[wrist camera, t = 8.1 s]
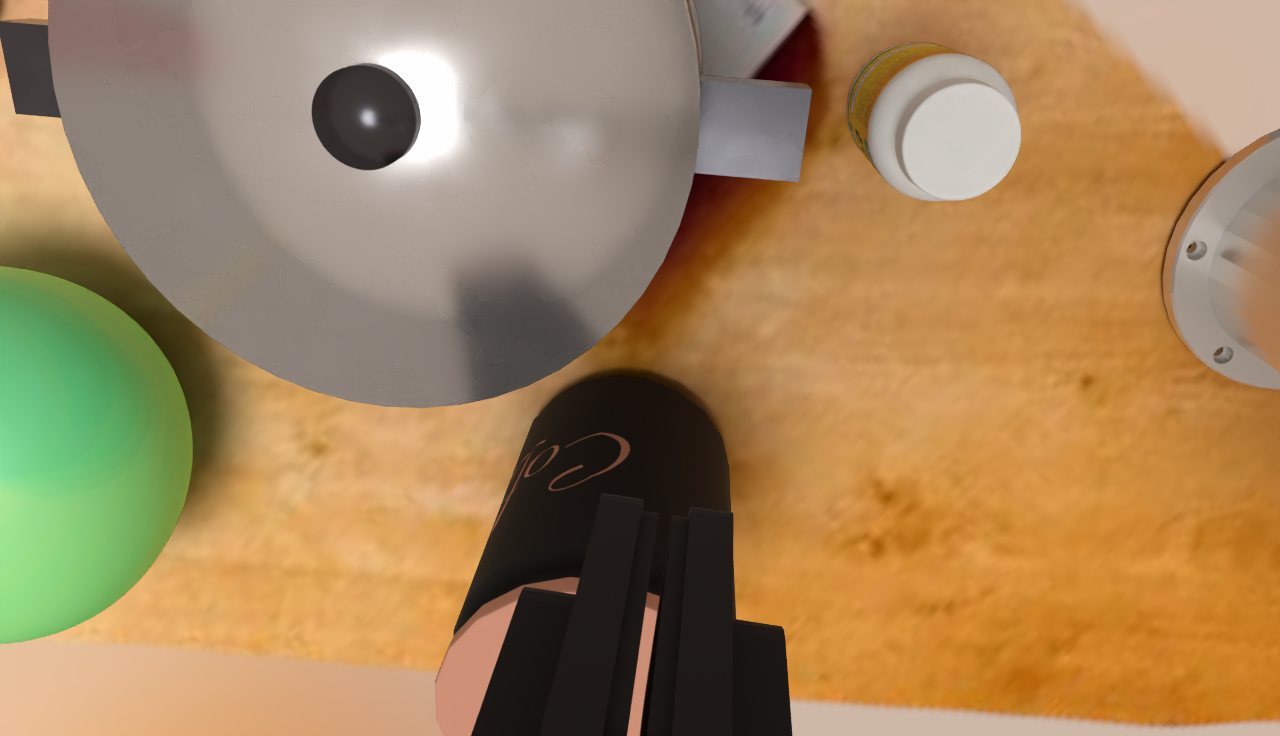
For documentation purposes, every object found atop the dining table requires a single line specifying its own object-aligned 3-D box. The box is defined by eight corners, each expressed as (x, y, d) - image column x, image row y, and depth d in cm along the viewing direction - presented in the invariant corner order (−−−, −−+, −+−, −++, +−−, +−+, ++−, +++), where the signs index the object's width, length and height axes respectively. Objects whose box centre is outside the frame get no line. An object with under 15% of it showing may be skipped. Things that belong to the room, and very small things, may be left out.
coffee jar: (635, 325, 45) (594, 534, 28) (770, 471, 47) (804, 739, 31) (484, 445, 48) (369, 696, 32) (618, 575, 51) (577, 867, 34)
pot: (815, -169, 36) (864, -229, 25) (752, 307, 44) (768, 422, 33) (142, -220, 36) (-100, -299, 25) (204, 258, 45) (41, 352, 34)
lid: (736, -239, 25) (738, -259, 22) (671, 415, 33) (669, 447, 31) (18, -292, 25) (-48, -317, 23) (130, 363, 33) (89, 391, 31)
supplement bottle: (996, 84, 39) (1080, 119, 30) (916, 189, 41) (974, 250, 32) (895, 14, 38) (951, 28, 29) (819, 124, 40) (851, 169, 31)
